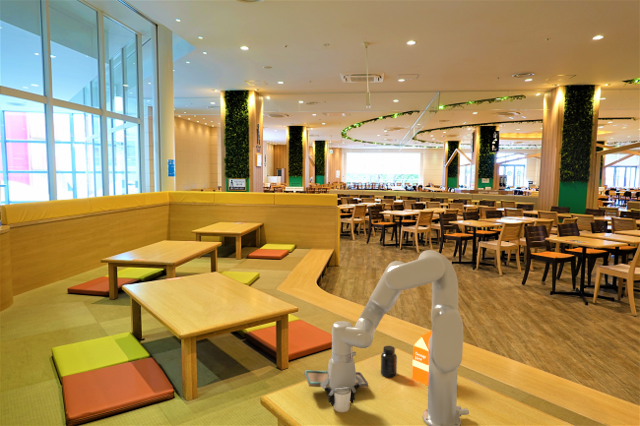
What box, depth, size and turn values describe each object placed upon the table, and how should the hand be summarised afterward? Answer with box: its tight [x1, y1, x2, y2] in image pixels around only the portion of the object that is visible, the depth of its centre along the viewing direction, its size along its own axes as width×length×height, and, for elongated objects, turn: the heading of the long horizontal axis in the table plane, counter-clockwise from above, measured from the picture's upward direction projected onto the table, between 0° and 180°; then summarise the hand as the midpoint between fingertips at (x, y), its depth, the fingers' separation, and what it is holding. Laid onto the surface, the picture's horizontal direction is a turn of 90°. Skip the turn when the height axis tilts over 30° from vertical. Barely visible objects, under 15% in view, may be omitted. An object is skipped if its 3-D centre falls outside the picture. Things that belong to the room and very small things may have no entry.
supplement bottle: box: [380, 345, 398, 379], centre depth 167 cm, size 7×7×12 cm
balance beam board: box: [304, 369, 369, 389], centre depth 153 cm, size 24×10×2 cm, turn 103°
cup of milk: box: [333, 387, 351, 413], centre depth 142 cm, size 7×7×7 cm
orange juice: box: [412, 330, 432, 386], centre depth 163 cm, size 8×9×20 cm
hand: (341, 402), depth 142 cm, fingers closed on cup of milk, 6 cm apart
